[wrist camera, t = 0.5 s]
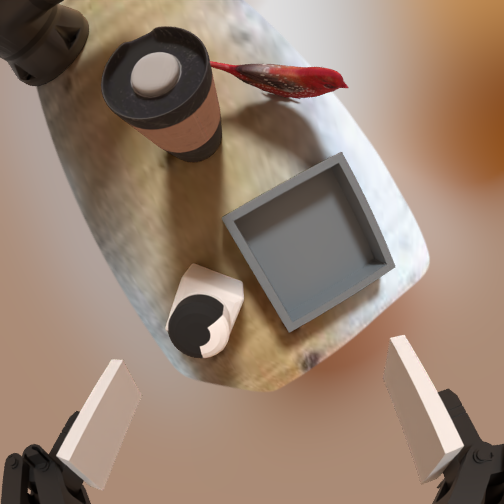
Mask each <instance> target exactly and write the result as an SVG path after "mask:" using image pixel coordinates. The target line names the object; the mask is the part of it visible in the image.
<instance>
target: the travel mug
mask: <svg viewBox="0 0 504 504" xmlns="http://www.w3.org/2000/svg"><path fill="white" fill-rule="evenodd" d="M101 88H102V94H103V98H104V100H105V102H106V104H107V105H108V107H109V108H110V109H111V110H112V111H113V112H114V113H115V114H116V115H118V116H119V117H120V118H122V119H123V120H124V121H126V122H127V123H128V124H130V125H131V126H132V127H134V128H135V129H136V130H138V131H139V132H140V133H141V134H143V135H144V136H145V137H147V138H148V139H149V140H151V141H152V142H153V143H155V144H156V145H157V146H159V147H160V148H162V149H163V150H165V151H167V152H169V153H170V154H172V155H174V156H175V157H177V158H179V159H181V160H184V161H187V162H198V161H202V160H204V159H206V158H208V157H210V156H211V155H212V154H213V153H214V152H215V151H216V150H217V148H218V147H219V145H220V142H221V138H222V126H221V114H220V107H219V102H218V97H217V93H216V88H215V83H214V79H213V74H212V69H211V65H210V60H209V55H208V52H207V50H206V48H205V46H204V44H203V43H202V41H201V40H200V39H199V38H198V37H197V36H195V35H194V34H192V33H191V32H189V31H187V30H184V29H181V28H177V27H157V28H155V29H153V31H151V32H150V33H148V34H146V35H144V36H142V37H140V38H138V39H136V40H133V41H131V42H125V43H123V44H122V45H120V46H119V47H118V48H117V49H116V51H115V52H114V53H113V54H112V56H111V57H110V59H109V60H108V62H107V64H106V66H105V69H104V71H103V75H102V82H101Z"/></svg>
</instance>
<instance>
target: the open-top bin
mask: <svg viewBox="0 0 504 504" xmlns="http://www.w3.org/2000/svg"><path fill="white" fill-rule="evenodd" d="M222 220H223V222H224V224H225V225H226V227H227V229H228V230H229V232H230V234H231V236H232V237H233V239H234V241H235V242H236V244H237V246H238V247H239V249H240V251H241V253H242V254H243V256H244V258H245V259H246V261H247V263H248V264H249V266H250V268H251V269H252V271H253V273H254V275H255V276H256V278H257V280H258V281H259V283H260V285H261V286H262V288H263V290H264V291H265V293H266V295H267V296H268V298H269V300H270V301H271V303H272V305H273V307H274V308H275V310H276V312H277V313H278V315H279V317H280V318H281V320H282V322H283V323H284V325H285V327H286V328H287V330H288V332H291V331H293V330H295V329H297V328H298V327H300V326H302V325H304V324H305V323H307V322H309V321H311V320H312V319H314V318H316V317H318V316H319V315H321V314H323V313H324V312H326V311H328V310H329V309H331V308H333V307H334V306H336V305H338V304H339V303H341V302H342V301H344V300H346V299H347V298H349V297H351V296H352V295H354V294H355V293H357V292H358V291H360V290H362V289H363V288H365V287H366V286H368V285H369V284H371V283H372V282H374V281H375V280H377V279H378V278H380V277H381V276H383V275H384V274H386V273H387V272H389V271H390V270H392V269H393V268H395V264H394V262H393V259H392V257H391V254H390V252H389V249H388V247H387V244H386V242H385V240H384V237H383V235H382V233H381V230H380V228H379V226H378V224H377V221H376V219H375V217H374V215H373V213H372V210H371V208H370V206H369V204H368V202H367V200H366V198H365V196H364V194H363V192H362V190H361V188H360V186H359V184H358V182H357V180H356V178H355V176H354V174H353V172H352V170H351V168H350V166H349V164H348V162H347V161H346V159H345V157H344V155H343V153H342V152H340V153H338V154H336V155H334V156H332V157H330V158H328V159H326V160H324V161H322V162H320V163H318V164H316V165H314V166H312V167H311V168H309V169H307V170H305V171H303V172H301V173H299V174H298V175H296V176H294V177H292V178H290V179H288V180H287V181H285V182H283V183H281V184H279V185H277V186H276V187H274V188H272V189H270V190H268V191H267V192H265V193H263V194H261V195H260V196H258V197H256V198H254V199H253V200H251V201H249V202H247V203H245V204H244V205H242V206H240V207H239V208H237V209H235V210H233V211H232V212H230V213H228V214H226V215H225V216H223V217H222Z"/></svg>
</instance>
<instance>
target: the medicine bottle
mask: <svg viewBox="0 0 504 504" xmlns="http://www.w3.org/2000/svg"><path fill="white" fill-rule="evenodd" d="M243 301H244V292H243V282H242V281H240V280H237V279H234V278H232V277H229V276H226V275H224V274H221V273H218V272H216V271H213V270H210V269H208V268H205V267H202V266H200V265H197V264H195V263H193V264H191V265H190V267H189V268H188V269H187V271H186V272H185V273H184V275H183V276H182V278H181V281H180V284H179V287H178V290H177V293H176V296H175V299H174V302H173V305H172V308H171V312H170V315H169V318H168V321H167V324H166V331H168V333H169V337H170V339H171V341H172V343H173V344H174V346H175V347H176V348H177V349H178V350H180V351H181V352H182V353H184V354H186V355H188V356H191V357H195V358H208V357H211V356H214V355H216V354H218V353H219V352H220V351H222V350H223V349H224V347H225V346H226V344H227V342H228V339H229V335H230V333H231V330H232V328H233V325H234V323H235V321H236V318H237V316H238V313H239V311H240V308H241V306H242V303H243Z"/></svg>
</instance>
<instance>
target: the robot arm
mask: <svg viewBox="0 0 504 504" xmlns="http://www.w3.org/2000/svg"><path fill="white" fill-rule="evenodd" d="M62 1H64V0H0V58H2V59H4V60H6V61H7V62H8V63H9V65H10V66H11V68H12V70H13V71H14V73H15V74H16V76H17V77H18V79H19V80H21V81H22V82H24V83H26V84H28V85H30V86H39V85H42V84H45V83H47V82H49V81H51V80H53V79H54V78H56V77H57V76H58V75H60V74H61V73H62V72H63V71H64V70H65V69H66V68H67V67H68V66H69V65H70V64H71V63H72V62H73V61H74V59H75V58H76V57H77V56H78V54H79V53H80V51H81V49H82V48H83V46H84V44H85V42H86V39H87V36H88V32H89V25H88V21H87V20H86V18H85V17H84V16H83V15H82V14H81V13H80V12H79V11H77V10H74V9H72V8H69V7H66V6H63V5H60V4H59V3H60V2H62ZM383 379H384V382H385V384H386V387H387V390H388V392H389V394H390V397H391V399H392V402H393V405H394V407H395V410H396V413H397V415H398V418H399V421H400V423H401V426H402V429H403V432H404V434H405V437H406V440H407V443H408V446H409V449H410V451H411V454H412V457H413V460H414V463H415V466H416V470H417V473H418V476H419V479H420V482H421V484H424V483H427V482H429V481H432V480H435V479H437V478H438V477H439V476H440V475H441V474H442V473H443V474H444V477H445V478H444V480H443V481H442V482H441V483H440V484H439V485H438V487H437V488H440V489H439V491H438V493H437V496H436V497H435V500H434V501H433V503H432V504H504V444H501V445H493V446H492V445H491V444H489V443H487V442H483V441H482V440H481V439H480V437H479V435H478V433H477V431H476V429H475V427H474V425H473V424H472V422H471V420H470V418H469V416H468V414H467V413H466V411H465V409H464V407H463V406H462V403H461V402H460V400H459V398H458V396H457V395H456V394H455V393H453V392H452V391H451V390H450V389H446V390H443V391H440V392H437V391H436V389H435V387H434V385H433V384H432V382H431V380H430V378H429V376H428V374H427V373H426V371H425V369H424V367H423V366H422V364H421V362H420V360H419V359H418V357H417V355H416V353H415V352H414V350H413V349H412V347H411V345H410V343H409V342H408V340H407V338H406V337H405V335H402V336H398V337H393V338H390V342H389V348H388V354H387V359H386V365H385V370H384V375H383ZM141 396H142V394H141V393H140V391H139V389H138V387H137V385H136V383H135V382H134V380H133V378H132V376H131V374H130V372H129V370H128V368H127V367H126V364H125V363H124V360H116V359H115V360H114V359H112V360H111V361H110V363H109V364H108V366H107V368H106V369H105V371H104V373H103V374H102V376H101V378H100V379H99V381H98V383H97V384H96V386H95V387H94V389H93V391H92V393H91V394H90V396H89V398H88V399H87V401H86V403H85V405H84V406H83V408H82V410H81V411H80V412H78V411H76V412H75V413H74V414H73V415H72V416H71V417H70V418H69V419H68V421H67V423H66V425H65V427H64V428H63V430H62V433H60V435H59V437H58V439H57V441H56V442H55V444H54V446H53V448H52V450H51V452H50V453H49V455H48V454H47V453H46V452H45V451H44V450H43V449H42V448H41V447H40V446H39V445H36V444H33V445H30V446H28V447H27V448H26V449H25V450H24V452H23V455H22V456H21V455H19V454H17V453H13V454H11V455H9V456H8V458H7V459H6V462H5V467H4V476H3V484H2V497H1V504H91V503H90V501H89V498H88V495H87V492H86V490H85V488H84V486H83V485H82V483H83V481H85V482H86V483H87V484H88V485H90V486H91V487H94V488H97V489H100V490H104V487H105V485H106V482H107V480H108V477H109V474H110V472H111V469H112V467H113V464H114V462H115V459H116V457H117V454H118V452H119V449H120V446H121V444H122V442H123V439H124V437H125V434H126V432H127V429H128V427H129V424H130V422H131V420H132V418H133V415H134V413H135V411H136V408H137V406H138V404H139V401H140V399H141ZM28 488H29V489H30V490H31V494H29V493H27V492H28Z"/></svg>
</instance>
